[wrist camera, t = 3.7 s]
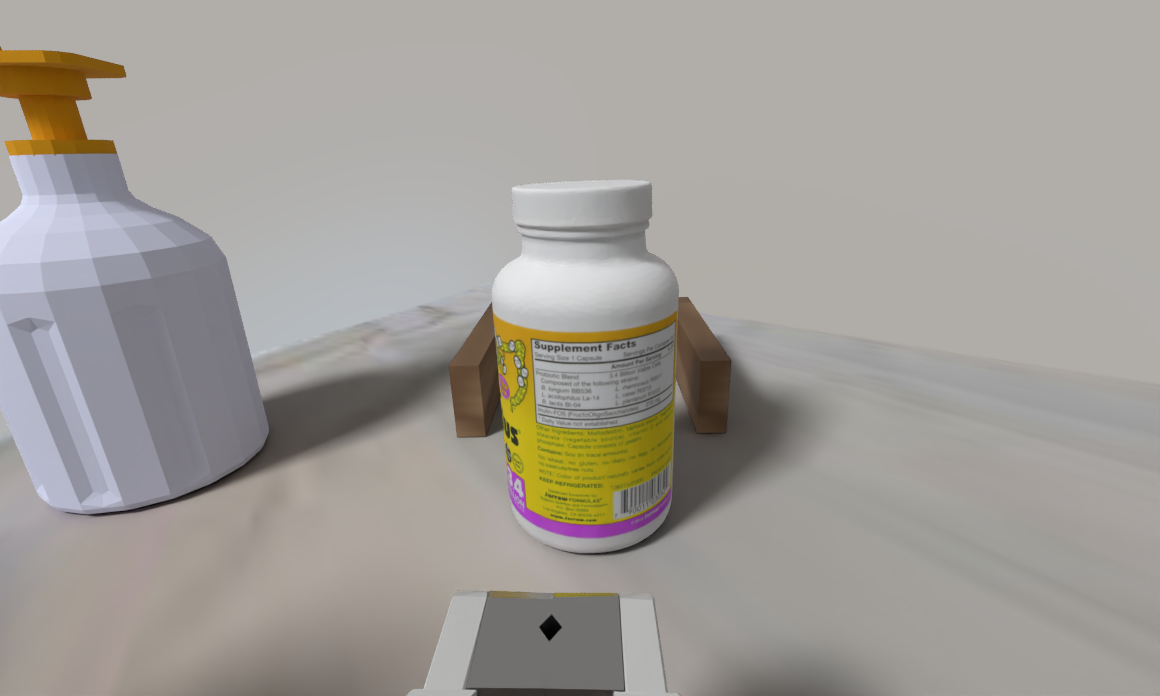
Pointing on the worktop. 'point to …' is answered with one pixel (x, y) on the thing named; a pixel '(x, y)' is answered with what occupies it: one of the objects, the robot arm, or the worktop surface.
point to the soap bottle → (111, 318)
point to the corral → (696, 374)
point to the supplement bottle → (587, 366)
